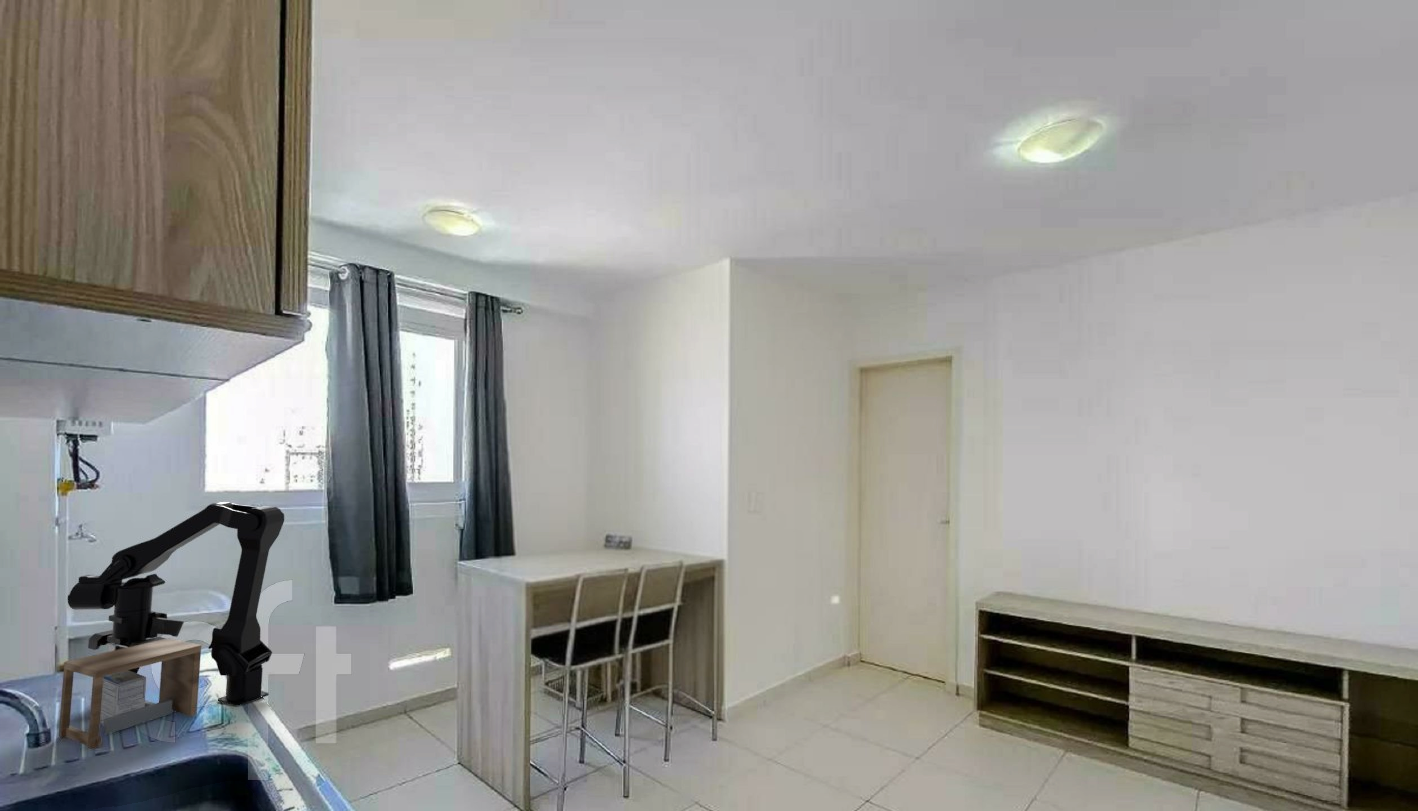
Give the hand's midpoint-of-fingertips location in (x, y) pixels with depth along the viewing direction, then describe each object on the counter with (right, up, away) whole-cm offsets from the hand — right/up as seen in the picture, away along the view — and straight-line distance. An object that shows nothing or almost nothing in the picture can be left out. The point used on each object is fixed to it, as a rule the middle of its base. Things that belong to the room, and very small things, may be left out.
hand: (127, 686), depth 129 cm
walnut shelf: (+11, -2, -11) cm, 15 cm away
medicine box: (+8, -3, -10) cm, 13 cm away
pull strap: (+2, -2, -6) cm, 7 cm away
